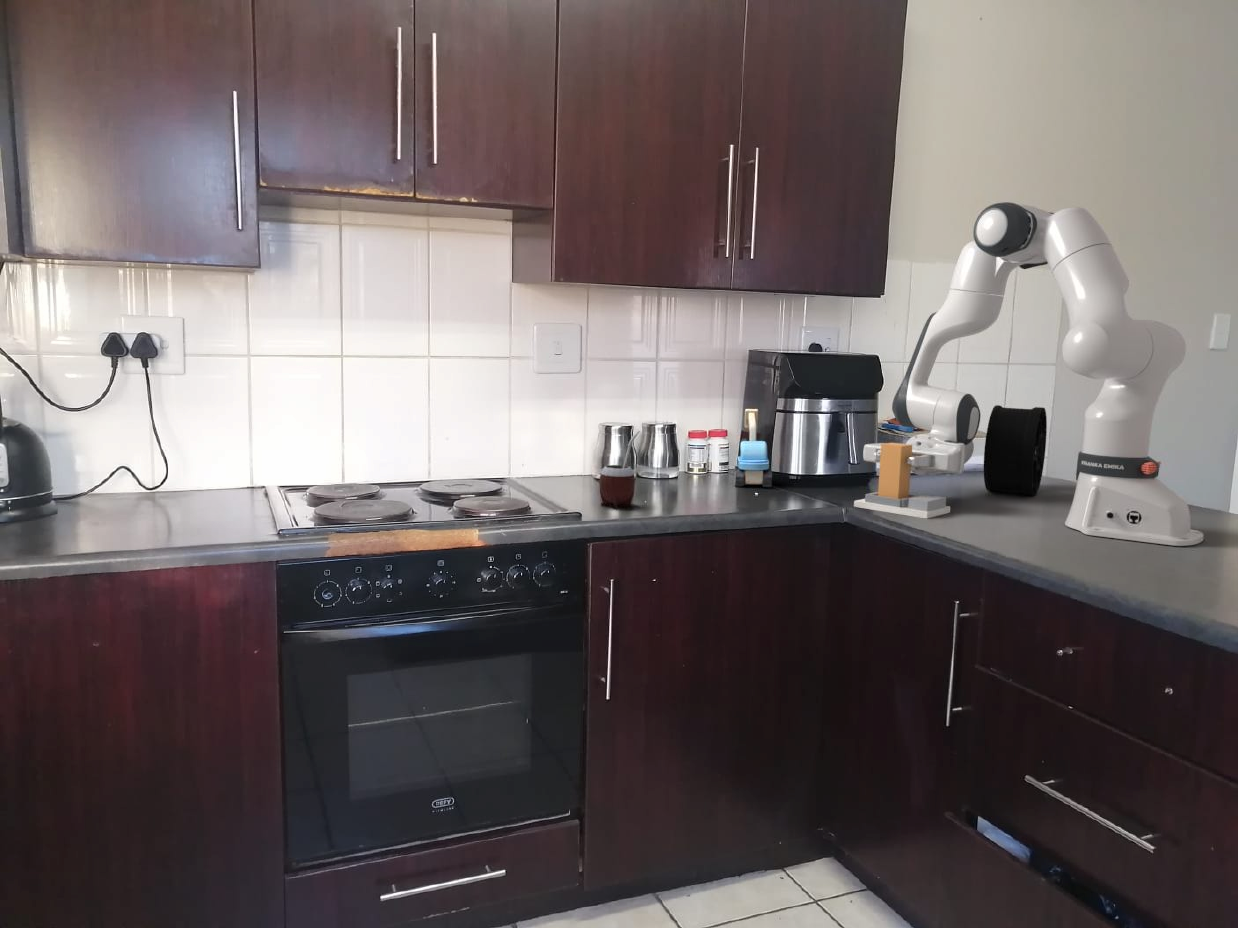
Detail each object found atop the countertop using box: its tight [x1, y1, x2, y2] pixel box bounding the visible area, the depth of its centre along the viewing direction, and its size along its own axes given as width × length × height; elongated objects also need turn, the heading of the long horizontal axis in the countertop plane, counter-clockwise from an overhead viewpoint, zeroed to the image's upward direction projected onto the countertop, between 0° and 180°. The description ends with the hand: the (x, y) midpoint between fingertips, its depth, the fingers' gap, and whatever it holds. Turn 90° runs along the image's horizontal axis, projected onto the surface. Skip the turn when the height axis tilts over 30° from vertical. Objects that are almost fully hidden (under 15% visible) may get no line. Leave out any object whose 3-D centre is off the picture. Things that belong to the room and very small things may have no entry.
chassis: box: [853, 491, 951, 519], centre depth 189 cm, size 16×10×3 cm, turn 45°
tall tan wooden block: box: [877, 442, 912, 499], centre depth 190 cm, size 4×4×12 cm
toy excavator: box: [733, 408, 773, 488], centre depth 218 cm, size 9×17×17 cm, turn 174°
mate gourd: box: [598, 429, 641, 510], centre depth 185 cm, size 8×8×15 cm
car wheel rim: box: [983, 404, 1048, 496], centre depth 213 cm, size 20×10×20 cm, turn 148°
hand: (893, 459), depth 189 cm, fingers open, 6 cm apart
